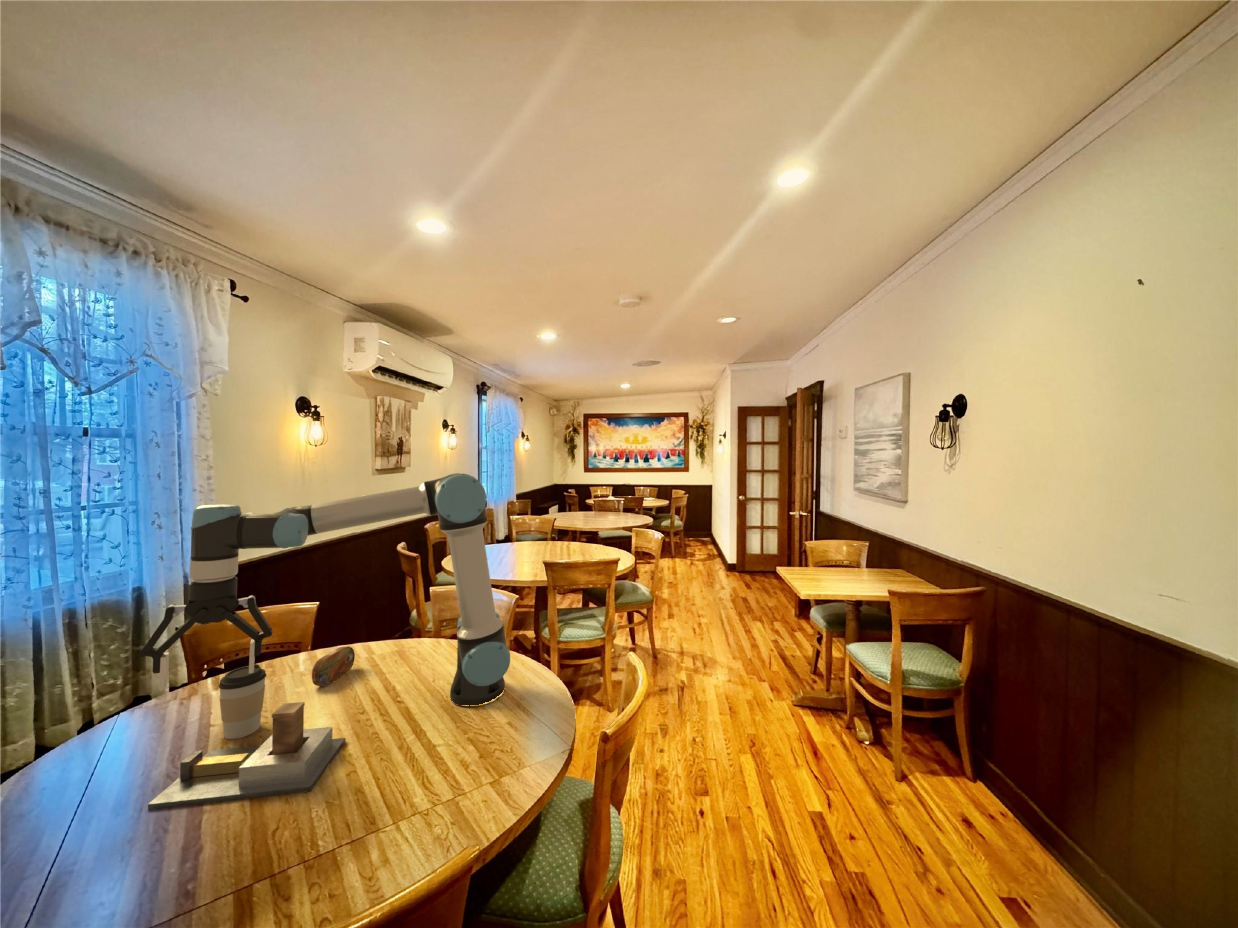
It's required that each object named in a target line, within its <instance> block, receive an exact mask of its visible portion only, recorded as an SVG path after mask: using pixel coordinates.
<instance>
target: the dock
mask: <svg viewBox="0 0 1238 928" xmlns="http://www.w3.org/2000/svg"><path fill="white" fill-rule="evenodd" d="M345 744H346V737H341V738H333V726H325V727H316V728H315V727H314V728H306V729H305V728H303V746H302V747H301V748H300V749H299V750H298V752H297V753H289V754H279V755H272V734H271V735H270V736H269V737H268V738H267V739H266V740H265V741H264V742H263V743H262V744H261V745H254V746H253V745H252V746H244V747H243V746H242V747H241V746H240V747H231V748H221V749H210V750H209V751H208V752H207V753H206V754H204V756H203V758H204V757H215V756H225V755H236V754H246V753H248V759H247V760H246V761H245V762H244V763H243V764H242V765H241V766H240V767H239V772H237V773H227V774H217V775H207V776H197V777H191V778H190V779H186V780H180V776H179V777H178V778H177V779H175V780H174V781H173V782H172V783H171V784H170V785H168V787H167V788H165V789H164V790H163V791H161V793H159V794H158V795H157V796H156V797H155V798H153V800H151V801H150V802H149V803H148V804H147V810H155V809H157V810H158V809H165V808H174V807H175V808H176V807H182V806H192V805H193V806H194V805H201V804H202V805H203V804H208V803H209V804H210V803H219V802H228V801H229V802H230V801H237V800H238V801H239V800H246V799H253V798H254V799H255V798H263V797H272V796H280V795H290V794H291V795H292V794H299V793H308V792H309V793H310V792H312V790H313V789H314V787H315V786H316V784H317V783H318V782H319V780H320V778H321V777H322V776H323V774H324V773H325V772H326V770H327V769H328V768H329V766H330V765H331V763H332V762H333V761H334V759H335V758H336V756H337V754H338V753H339V751H340V750H341V749H342V748H343V746H344V745H345Z"/></svg>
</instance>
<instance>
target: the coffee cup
mask: <svg viewBox="0 0 1238 928" xmlns="http://www.w3.org/2000/svg"><path fill="white" fill-rule="evenodd" d="M266 677H267V673H266V670H265V669H264V668H261V666H260V665H259V664H257V663H254V672H253V673H249V665H248V666H247V665H246V666H241V667H237V668H235V669H233V670H230V671H228V672H227V673H225V676H223V677H222V678H221V679H220V681H219V683H218V686H217V688H219V697H218V698H219V703H220V704H219V705H220V714H221V715H220V716H221V721H222V729H223V738H224V739H227V740H236V739H241V738H243V737H244V738H245V737H247V736H249V735H251V734H253V733H255V732H256V731H258V730H259V729H260V728H261V721H262V719H261V718H262V711H263V707H264V699H265V690H266V684H265V681H266Z"/></svg>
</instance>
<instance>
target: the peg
mask: <svg viewBox="0 0 1238 928" xmlns="http://www.w3.org/2000/svg"><path fill="white" fill-rule="evenodd" d="M304 713H305V701H300V702H299V701H298V702H287V703H282V704H281V705H280V706H279V707H278V708H277V709H276V710H275V711H274V712H272V713H271V718H272V733H271V735H272V755H279V754H289V753H297V752H298V750H299V749H300V748H301V747H302V746H303V729H304V727H305V726H304V723H305V722H304V716H305V715H304Z"/></svg>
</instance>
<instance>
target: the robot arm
mask: <svg viewBox="0 0 1238 928" xmlns="http://www.w3.org/2000/svg"><path fill="white" fill-rule="evenodd" d="M486 504H487V494H486V490H485V488H484V486H483V484H482V483H481V481H480V480H478V479H477V478H476V477H474V476H472V475H471V474H466V473H459V472H458V473H452V474H448V475H446V476H444V477H443V476H442V477H440V478H435V479H433V480H426V481H423V482H421V484H420V485H419V486H418V485H417V486H414V487H408V488H401V489H395V490H391V491H384V492H377V493H374V494H366V495H361V496H355V497H349V498H343V499H337V500H332V501H326V502H319V503H314V504H310V505H304V506H303V505H302V506H292V507H286V508H283V510H280V511H276V512H273V513H255V514H254V513H253V514H252V513H251V514H249V513H242V510H241V509H242V508H241V506H240V505H237V504H224V503H223V504H205V505H199V506H197V507H196V508H194V510H193V512H192V522H191V526H190V560H189V573H188V574H189V575H188V576H189V577H188V578H189V579H190V580H191V581H189V582H188V599H187V604H184V605H183V604H182V605H181V604H179V605H178V604H175V603H171V604H169V606H168V607H167V608H166V609H165V611H164V617H163V619H162V621H161V622H160V624H159V625H158V626H157V628H156V629H155V631H154V632H153V634H152V635H151V637H150V638H149V639H148V640H147V642H146V643H145V645H144V647H143V648H142V650H141V651H140V652H139V657H140V658H141V657H142V658H145V657H148V658H149V657H150V658H152V671H151V672H152V673H153V674H154V675H155V674H159V682H158V683H159V684H158V691H159V692H161V691H165V690H166V689H167V686H168V684H169V682H168V681H169V660H170V652H169V651H168V650H169V649H170V648H171V647H172V646H173V645H174V644H175V643H176V642H177V641H178V640H179V639H180V638H181V637H182V636H183V635H184V634H185V633H187V631H189V630H190V629H191V628H192V627H193V626H194V625H195V624H200V625H201V626H202V625H207V624H210V623H214V624H215V623H222V622H223V621H225V620H227V621H228V622H229V623H231V624H233V626H235V627H237V628H238V629H239V630H240V631H242V632H243V633H245V635H247V636H248V637H250V638H251V640H250V643H249V660H248V666H249V673H253V672H254V664H255V660H256V658H255V657H258V656H260V655H261V653H262V645H263V640H264V639H266V638H270V637H272V636H273V631H274V630H273V628H272V626H271V625H270V624H269V622H268V620H267V619H266V618H265V616H264V614H263V613H262V612H261V610H260V608H259V607H258V605H257V601H256V596H255V595H253V594H251V595H249V596H248V597H242V598H239V597H238V596H237V595H238V577H237V576H236V575H237V574H238V573H239V555H240V554H239V551H240V550H247V549H249V550H250V549H251V550H252V549H289V548H299V547H301V546H303V545H304V544H305V543H306V540H307V538H308V536H313V535H314V536H315V535H317V534H322V533H327V532H333V531H339V530H345V529H349V528H354V527H360V526H364V525H368V524H369V525H370V524H375V523H380V522H385V521H391V520H396V519H402V518H406V517H411V516H417V515H423V514H426V515H427V516H429V517H431V516H437V517H438V523H439V529H440V530H439V531H441V532H442V533H443V534H445V535H446V536H447V539H448V545H449V551H450V559H451V565H452V571H453V577H454V583H455V589H456V597H457V602H458V609H459V615H460V616H459V618H458V619H457V625H456V628H457V633H456V637H457V649H456V650H457V651H456V652H457V653H456V654H457V656H456V657H457V658H456V663H457V664H456V671H455V675H454V678H453V681H452V683H451V687H450V690H449V693H450V695H449V696H450V697H449V699H450V698H451V699H450V701H451V702H452V701H453V702H454V703H455V704H454V703H453V702H452V703H453V704H454V705H456V704H458V705H469V706H470V705H479V704H483V703H485V702H489V701H491V700H492V699H495V698H496V697H497V696H499V695H500V694H501V693H502V692H503V690H504V688H505V689H506V682H505V678H504V676H505V675H506V673H507V672H508V670H509V668H510V665H511V652H510V650H509V648H508V646H507V641H506V635H505V628H504V622H503V620H501V619H500V614H499V613H498V612H496V609H495V602H494V595H493V590H492V582H491V577H490V575H491V574H490V568H489V564H488V563H489V562H488V557H487V555H488V554H487V549H486V542H485V537H484V530H483V529H484V528H485V526H486V525H487V524H488V522H489V521H488V516H487V510H486ZM239 605H240V606H243V608H244V609H248V612H249V613H250V615H251V616H252V618H253V620H254V621H255V622H256V624H257V625H258V627H259V629H260V630H261V631H260V630H258V629H257V628H256V627H254V625H252V624H250V622H248V621H247V620H246V619H244V618H243V617H242V616H241V615H240V614H239V613H238V612H237V611H235V610H236V609H237V607H238V606H239ZM182 612H184V613H185V614H187V615H188V617H189V618H188V619H187V620H186V621H185V622H184V623H183V624H182V625H181V626H180V627H179V628H177V630H175V632H174V633H173V634H172V635H170V636H169V637H168V638H167V639H166V640H165V641H164V642H163V643H162V644H161V645H160V646H159V647H157V648H156V647H155V645H156V644H157V642H158V641H159V640H160V639H161V637H162V635H163V634H164V633H165V631H166V629H167V628H168V627H169V625H170V624H171V622H172V620H174V618H176V617H178V616H180V614H181V613H182ZM167 651H168V652H167ZM458 705H457V706H458Z"/></svg>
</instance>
